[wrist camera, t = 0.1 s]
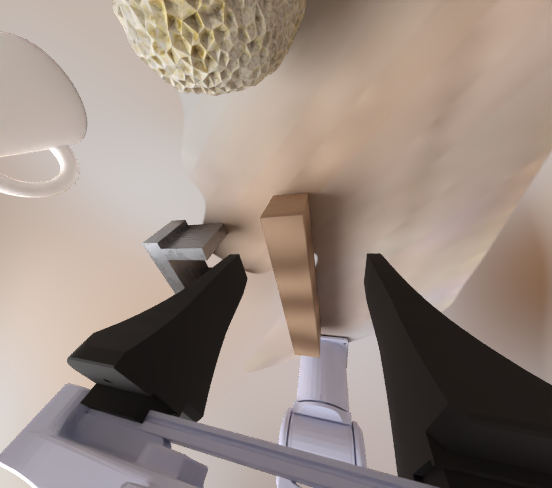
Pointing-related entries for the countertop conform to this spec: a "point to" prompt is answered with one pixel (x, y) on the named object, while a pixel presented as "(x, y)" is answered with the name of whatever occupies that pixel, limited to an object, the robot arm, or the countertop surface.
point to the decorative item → (211, 39)
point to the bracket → (184, 251)
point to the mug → (37, 114)
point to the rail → (294, 268)
